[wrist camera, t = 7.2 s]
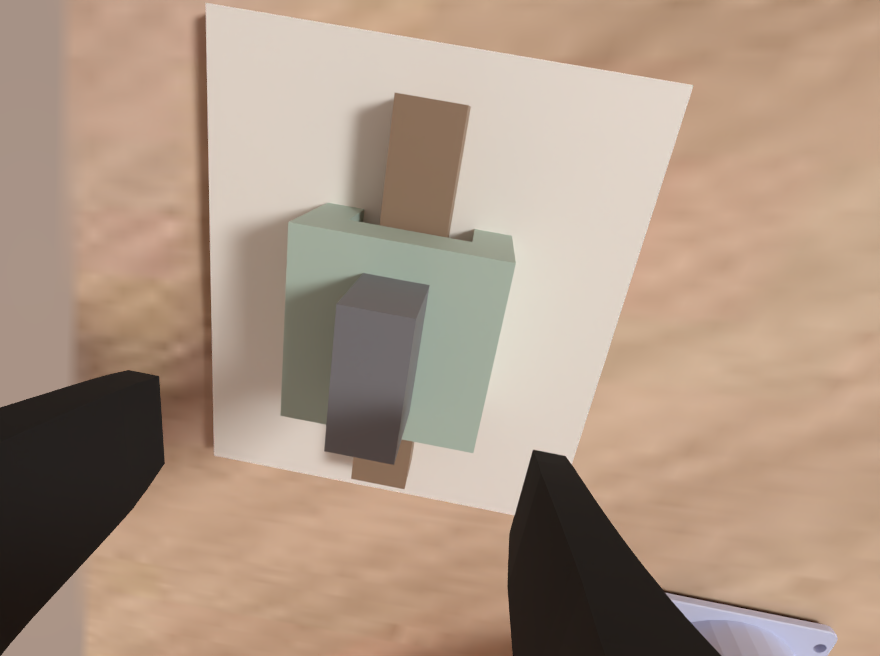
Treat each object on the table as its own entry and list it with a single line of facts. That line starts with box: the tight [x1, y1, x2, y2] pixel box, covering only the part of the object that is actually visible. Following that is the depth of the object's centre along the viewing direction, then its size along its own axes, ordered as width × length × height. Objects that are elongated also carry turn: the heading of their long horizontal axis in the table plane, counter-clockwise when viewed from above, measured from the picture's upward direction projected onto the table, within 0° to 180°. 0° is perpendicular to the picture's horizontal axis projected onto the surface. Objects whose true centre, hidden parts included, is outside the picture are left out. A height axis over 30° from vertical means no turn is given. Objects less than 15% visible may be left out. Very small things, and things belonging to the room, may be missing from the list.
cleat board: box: [206, 3, 693, 515], centre depth 17 cm, size 16×14×2 cm
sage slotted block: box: [280, 203, 516, 465], centre depth 15 cm, size 6×6×6 cm
